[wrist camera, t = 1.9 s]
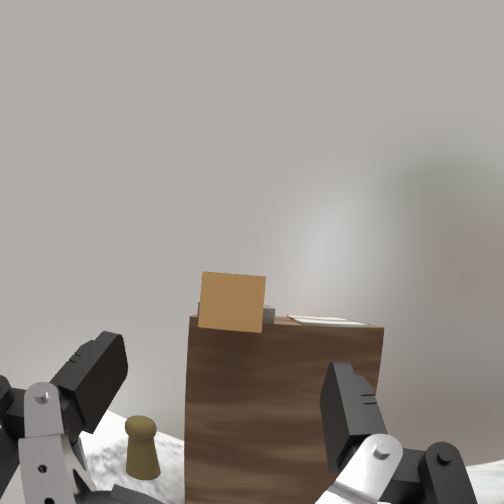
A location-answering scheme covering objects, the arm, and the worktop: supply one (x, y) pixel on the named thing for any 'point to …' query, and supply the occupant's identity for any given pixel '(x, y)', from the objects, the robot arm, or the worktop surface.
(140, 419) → the cork
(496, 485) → the worktop surface
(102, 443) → the worktop surface
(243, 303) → the wooden bar
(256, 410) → the walnut stand
